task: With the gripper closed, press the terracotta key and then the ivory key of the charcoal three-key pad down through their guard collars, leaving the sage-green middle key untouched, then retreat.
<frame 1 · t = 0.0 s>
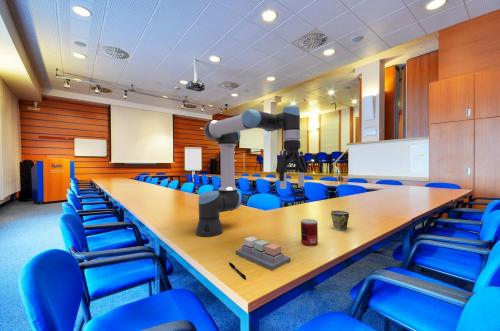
hand: (292, 187, 98), 28 cm above the table, fingers open, 13 cm apart
key green: (261, 245, 90), point 5 cm above the table, slide at 0.0 cm
pen: (237, 272, 79), on the table
canned food: (309, 243, 105), on the table
key ivory: (251, 241, 94), point 5 cm above the table, slide at 0.0 cm
keypad: (261, 257, 90), on the table
key terracotta: (272, 249, 85), point 5 cm above the table, slide at 0.0 cm
ceramic cup: (341, 230, 126), on the table
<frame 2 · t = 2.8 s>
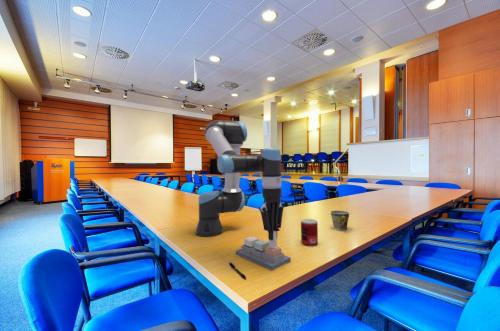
hand: (273, 247, 85), 6 cm above the table, fingers closed
key terracotta: (273, 251, 85), point 4 cm above the table, slide at 0.8 cm, touching gripper
everything else where it was.
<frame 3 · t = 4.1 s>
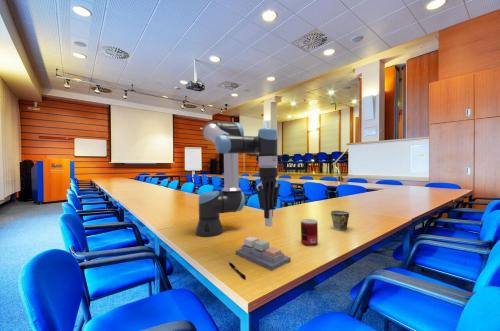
hand: (268, 225, 87), 14 cm above the table, fingers closed
key terracotta: (273, 253, 85), point 3 cm above the table, slide at 1.6 cm
everything else where it was.
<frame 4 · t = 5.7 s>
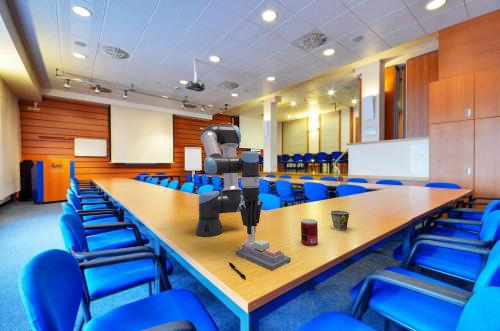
hand: (251, 241, 94), 5 cm above the table, fingers closed
key ivory: (251, 244, 94), point 4 cm above the table, slide at 1.3 cm, touching gripper
everything else where it was.
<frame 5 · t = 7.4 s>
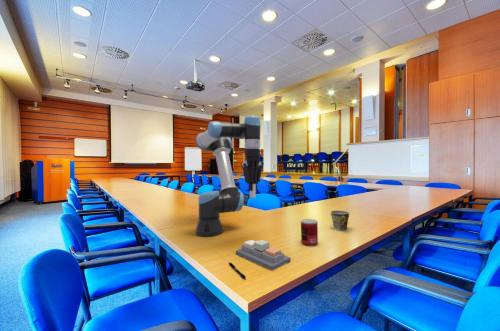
hand: (252, 197, 105), 23 cm above the table, fingers closed
key ivory: (251, 245, 94), point 3 cm above the table, slide at 1.6 cm
everything else where it was.
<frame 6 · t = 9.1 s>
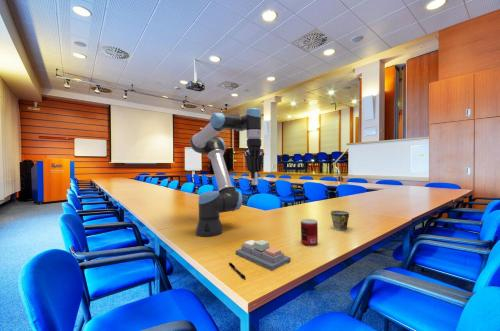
hand: (254, 184, 111), 28 cm above the table, fingers closed
nothing on the table moved.
at the end: key terracotta slide at 1.6 cm; key ivory slide at 1.6 cm; key green slide at 0.0 cm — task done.
